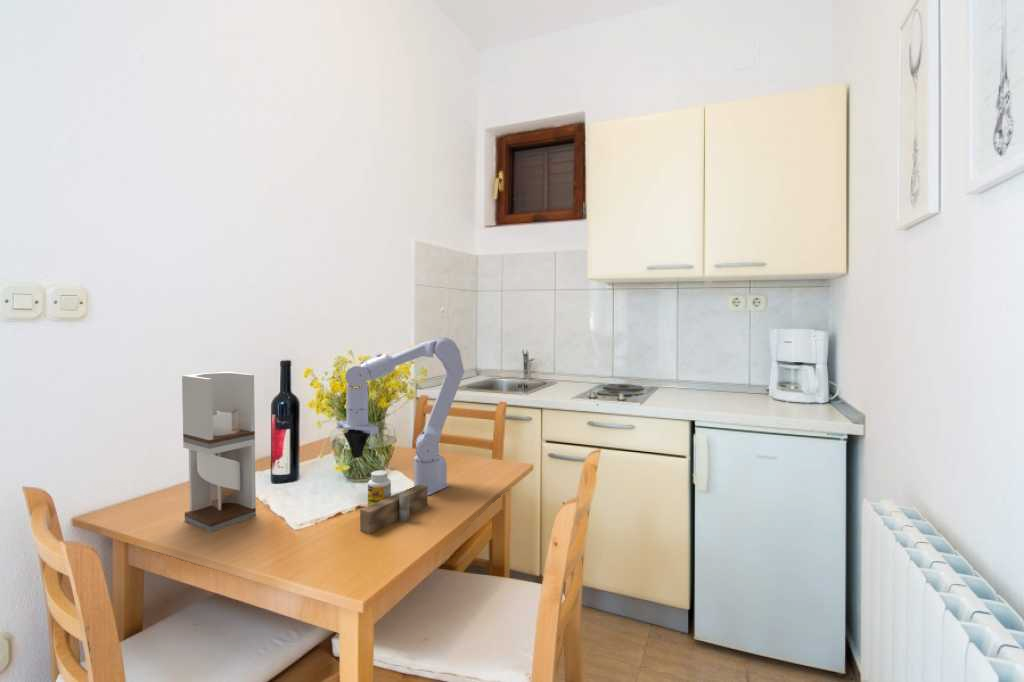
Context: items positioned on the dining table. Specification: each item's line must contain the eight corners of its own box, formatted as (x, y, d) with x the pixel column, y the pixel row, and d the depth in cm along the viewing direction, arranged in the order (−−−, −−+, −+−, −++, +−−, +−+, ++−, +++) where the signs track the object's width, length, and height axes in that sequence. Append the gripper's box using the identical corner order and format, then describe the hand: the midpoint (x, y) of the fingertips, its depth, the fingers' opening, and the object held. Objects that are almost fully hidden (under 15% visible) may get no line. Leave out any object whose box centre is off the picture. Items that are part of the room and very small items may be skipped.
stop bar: (418, 502, 127) (418, 480, 127) (434, 507, 124) (434, 484, 124) (360, 530, 110) (360, 505, 110) (377, 536, 107) (377, 510, 107)
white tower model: (184, 520, 114) (182, 375, 113) (229, 506, 123) (227, 371, 122) (210, 532, 108) (207, 379, 107) (255, 515, 118) (254, 374, 116)
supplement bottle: (363, 513, 120) (362, 473, 119) (379, 506, 124) (379, 467, 124) (379, 518, 117) (379, 477, 116) (395, 510, 122) (395, 471, 121)
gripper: (327, 407, 132) (328, 456, 133) (364, 413, 125) (364, 464, 126) (348, 404, 139) (348, 450, 139) (384, 409, 131) (384, 458, 132)
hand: (357, 456), depth 133 cm, fingers closed
